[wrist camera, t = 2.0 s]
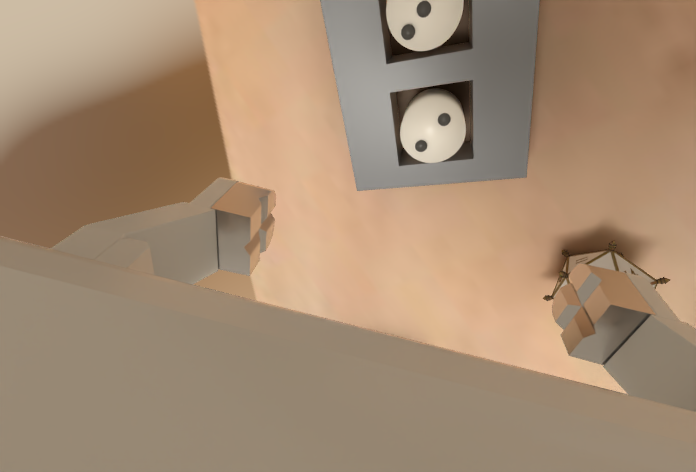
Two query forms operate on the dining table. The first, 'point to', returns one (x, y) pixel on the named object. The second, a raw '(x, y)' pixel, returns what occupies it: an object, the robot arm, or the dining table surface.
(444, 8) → the button three
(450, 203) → the dining table surface
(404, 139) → the button two
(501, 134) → the button panel
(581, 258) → the game die
